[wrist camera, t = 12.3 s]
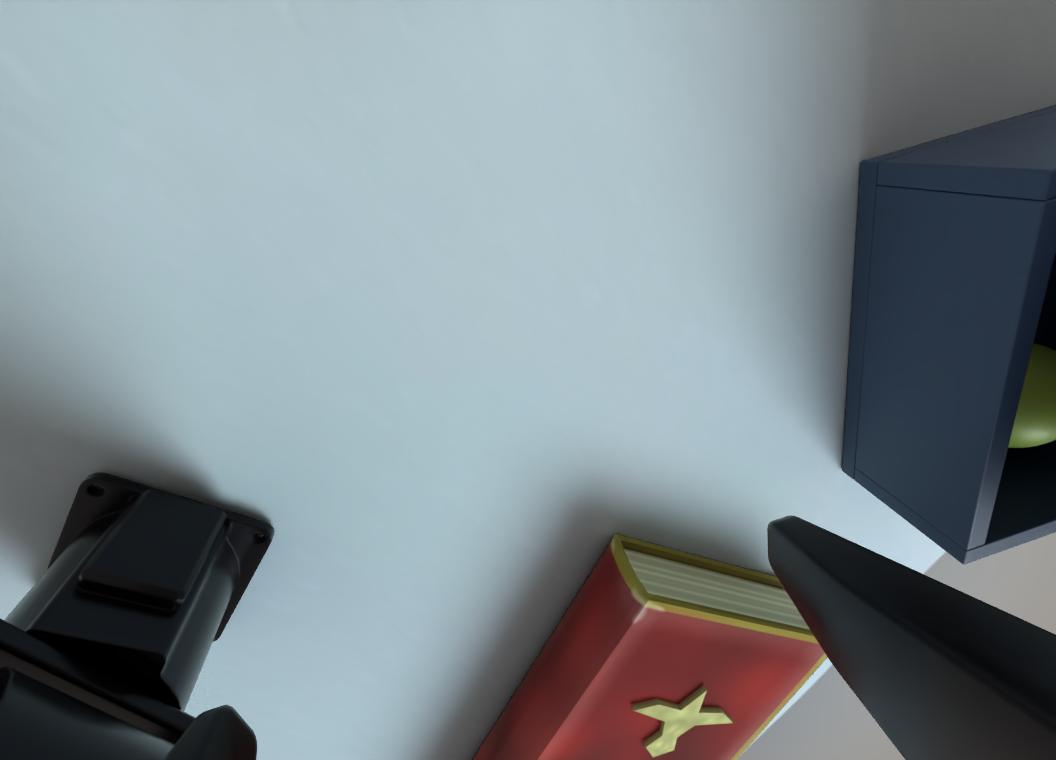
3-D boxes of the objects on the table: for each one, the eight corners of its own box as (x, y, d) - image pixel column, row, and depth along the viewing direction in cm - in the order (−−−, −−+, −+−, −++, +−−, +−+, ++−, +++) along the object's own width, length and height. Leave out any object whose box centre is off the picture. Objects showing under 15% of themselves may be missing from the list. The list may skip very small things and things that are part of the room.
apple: (948, 429, 25) (1049, 484, 21) (897, 392, 23) (996, 443, 19) (1020, 354, 23) (1141, 397, 19) (971, 309, 22) (1093, 345, 18)
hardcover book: (440, 798, 31) (444, 890, 27) (608, 531, 24) (643, 603, 20) (607, 806, 35) (630, 887, 31) (788, 579, 28) (845, 647, 24)
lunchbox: (841, 470, 25) (963, 565, 20) (859, 161, 19) (1051, 170, 13) (1019, 411, 26) (1187, 486, 20) (1097, 92, 20) (1377, 72, 14)
